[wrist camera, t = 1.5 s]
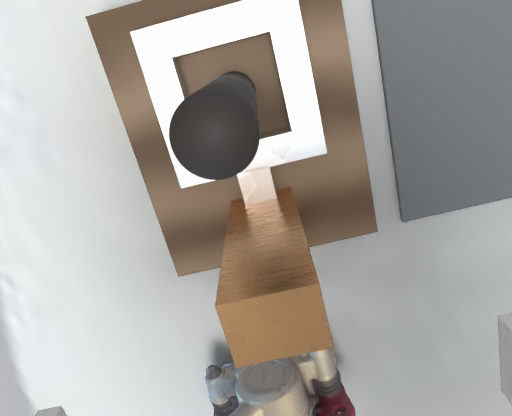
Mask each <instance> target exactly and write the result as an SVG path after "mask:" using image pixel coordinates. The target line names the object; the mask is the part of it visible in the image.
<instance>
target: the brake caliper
mask: <svg viewBox="0 0 512 416" xmlns="http://www.w3.org/2000/svg"><path fill="white" fill-rule="evenodd" d="M336 364H337V362H336V358H335V355H334V353H333V350H332V349H331V348H330V349H325V350H320V351H316V352H311V353H306V354H301V355H296V356H291V357H286V358H282V359H277V360H272V361H267V362H262V363H257V364H252V365H248V366H243V367H238V368H236V367H235V364H234V362H233V363H227V364H225V365H223V366H222V367H221V368H219V367H218V366H216V365H210V366H209V367H208V368H207V369H206V384H207V386H208V389H209V397H210V401H211V403H212V404H213V406H214V416H355V409H354V406H353V404H352V403H351V401H350V399H349V397H348V396H347V394H346V392H345V389H344V386H343V385H342V383H341V380H340V373H339V371H338V369H337V367H336Z"/></svg>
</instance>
